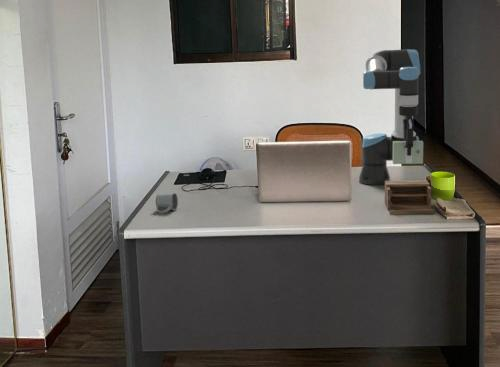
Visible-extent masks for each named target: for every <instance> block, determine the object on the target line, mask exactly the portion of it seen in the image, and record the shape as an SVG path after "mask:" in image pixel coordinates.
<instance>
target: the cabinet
mask: <svg viewBox="0 0 500 367" xmlns="http://www.w3.org/2000/svg"><path fill="white" fill-rule="evenodd" d="M384 206H385V207H386V209H387V211H389V215H419V214H420V215H421V214H423V215H424V214H427V215H428V214H434V213H435V209H432V188H431V186H430V182H429V181H428V179H416V180H413V179H411V180H409V179H408V180H390V181H385V184H384Z"/></svg>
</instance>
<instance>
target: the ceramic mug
mask: <svg viewBox="0 0 500 367" xmlns="http://www.w3.org/2000/svg"><path fill="white" fill-rule="evenodd" d="M155 206H156V212H157V213H159V214H167V213H168V212H169V211H176V210H177V209H178V206H179V200H178V195H177V193H176V192H167V193H165V192H163V193H159V194H157V195H156V197H155Z"/></svg>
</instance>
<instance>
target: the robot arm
mask: <svg viewBox="0 0 500 367" xmlns="http://www.w3.org/2000/svg"><path fill="white" fill-rule="evenodd" d="M419 55H420V54H419V52H418V50H416V49H409V48H408V49H406V48H405V49H391V50H390V49H385V50H384V49H383V50H380V51H377V52H375V53H374V54H371V55H370V56H369V57H368V58H367V60H366V61H365V70H366V71H364V72H363V75H362V78H363V81H362V84H363V86H362V87H363V89H364V90H389V89H390V90H391V89H392V90H394V130H393V131H392V132H391V135H390V136H388V135H387V134H386V133H383V132H381V133H373V134H369V135H366V136H364V137H363V138H362V146H361V147H362V166H361V169H360V173H359V176H358V182H359V183H361V184H363V185H371V186H373V185H375V186H376V185H385V181H391V176H390V172H389V170H388V165H387V161H389V162H390V161H392V162H393V141H406V146H404V148H405V163H412V147H413V141H420V139H419V136H417V133H416V132H415V130H414V126H415V119H414V116H415V117H416V116H417V115H418V114H419V107H418V105H419V76H420V75H421V64H420V56H419Z"/></svg>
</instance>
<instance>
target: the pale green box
mask: <svg viewBox="0 0 500 367" xmlns="http://www.w3.org/2000/svg"><path fill="white" fill-rule="evenodd" d="M404 146H406V141H393V161H392V164H393V165H411V164H412V165H415V164H417V165H419V164H421V165H422V164H424V141H423V140H419V141H413V147H412V163H405V148H404Z"/></svg>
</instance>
